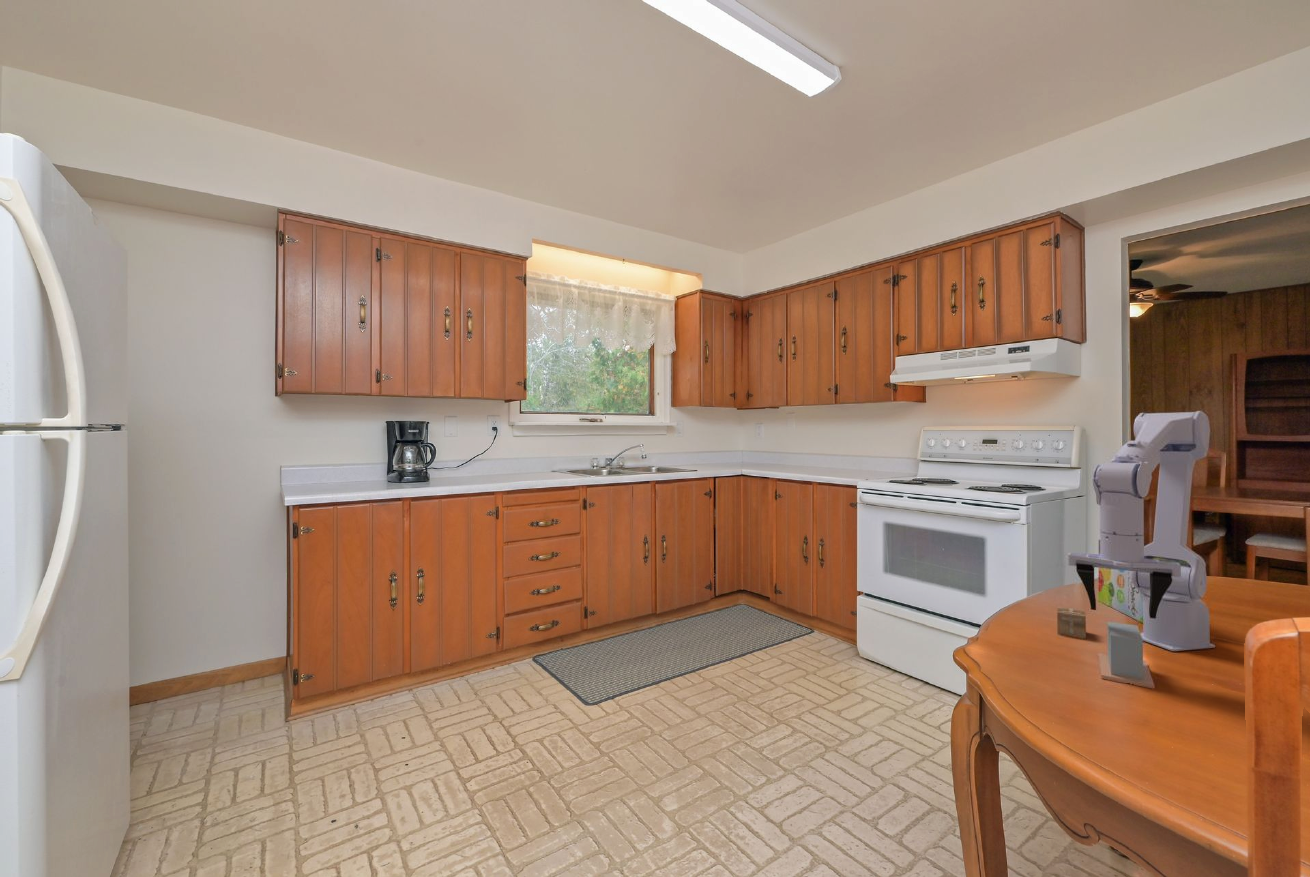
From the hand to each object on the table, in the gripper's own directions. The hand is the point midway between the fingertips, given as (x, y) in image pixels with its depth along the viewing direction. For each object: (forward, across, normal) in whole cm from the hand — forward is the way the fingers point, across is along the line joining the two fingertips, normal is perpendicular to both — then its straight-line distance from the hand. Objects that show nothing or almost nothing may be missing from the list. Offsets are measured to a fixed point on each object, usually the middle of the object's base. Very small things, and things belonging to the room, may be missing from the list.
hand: (1122, 612), depth 94 cm
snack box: (+10, +4, +37) cm, 39 cm away
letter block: (+10, -7, +16) cm, 20 cm away
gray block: (+9, 0, -1) cm, 9 cm away
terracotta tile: (+10, 0, 0) cm, 10 cm away
